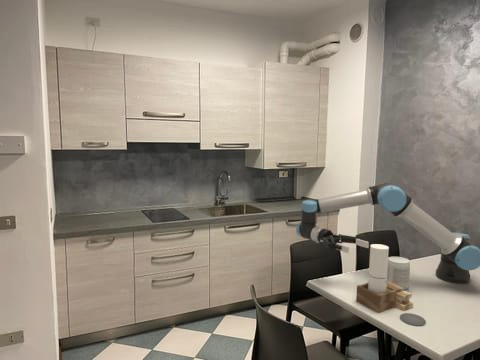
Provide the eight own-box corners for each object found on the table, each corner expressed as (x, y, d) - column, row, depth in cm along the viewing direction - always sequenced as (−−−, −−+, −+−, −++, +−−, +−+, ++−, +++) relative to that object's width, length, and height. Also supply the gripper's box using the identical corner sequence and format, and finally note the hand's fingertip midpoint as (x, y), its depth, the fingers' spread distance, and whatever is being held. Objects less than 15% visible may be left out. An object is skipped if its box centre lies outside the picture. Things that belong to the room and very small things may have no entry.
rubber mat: (417, 314, 142) (417, 312, 142) (430, 325, 133) (430, 324, 133) (395, 314, 141) (395, 313, 141) (407, 326, 132) (407, 325, 132)
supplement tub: (412, 291, 163) (414, 260, 161) (400, 296, 158) (402, 264, 156) (393, 284, 171) (395, 254, 169) (381, 288, 166) (383, 258, 164)
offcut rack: (382, 293, 161) (383, 278, 160) (413, 307, 148) (414, 291, 147) (356, 301, 153) (356, 285, 152) (386, 316, 139) (387, 299, 139)
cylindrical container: (363, 301, 153) (366, 244, 150) (377, 299, 155) (380, 243, 152) (374, 308, 146) (378, 249, 143) (389, 306, 148) (392, 248, 145)
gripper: (339, 239, 181) (375, 251, 164) (303, 247, 167) (339, 260, 150) (339, 225, 180) (376, 235, 163) (304, 231, 166) (339, 243, 149)
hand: (358, 247), depth 156 cm, fingers open, 13 cm apart
